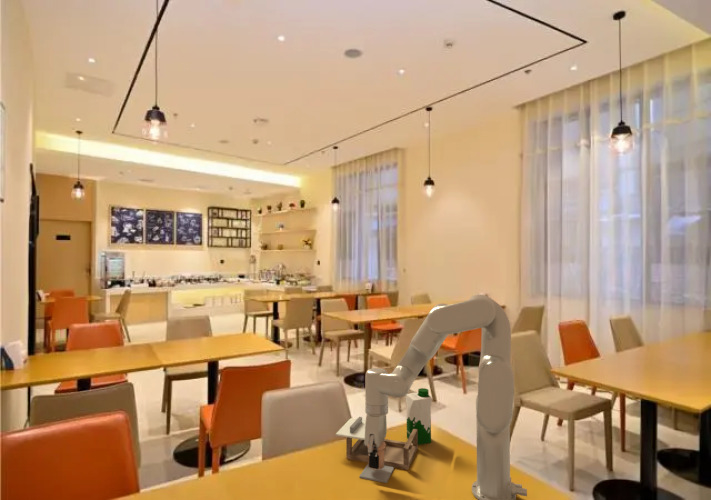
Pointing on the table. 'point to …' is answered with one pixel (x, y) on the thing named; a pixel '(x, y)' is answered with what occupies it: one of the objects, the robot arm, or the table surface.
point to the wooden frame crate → (386, 451)
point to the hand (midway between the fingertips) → (376, 462)
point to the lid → (353, 429)
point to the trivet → (377, 473)
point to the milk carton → (419, 415)
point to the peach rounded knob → (380, 454)
